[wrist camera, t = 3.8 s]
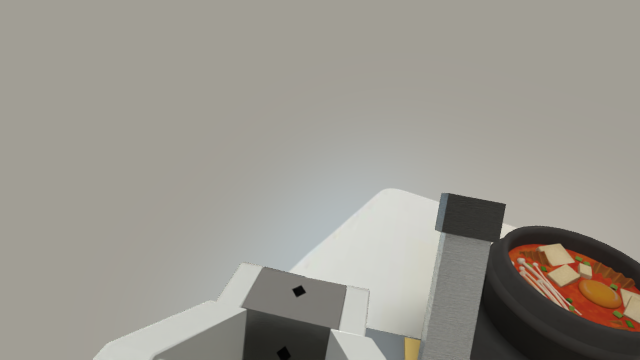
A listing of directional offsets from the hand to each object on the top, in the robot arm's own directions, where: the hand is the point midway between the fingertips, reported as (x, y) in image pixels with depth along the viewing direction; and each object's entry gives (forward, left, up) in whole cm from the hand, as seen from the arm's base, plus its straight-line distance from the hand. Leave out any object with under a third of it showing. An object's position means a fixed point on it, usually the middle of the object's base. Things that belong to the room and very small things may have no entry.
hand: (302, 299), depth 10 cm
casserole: (-23, -27, -25) cm, 43 cm away
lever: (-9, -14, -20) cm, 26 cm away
